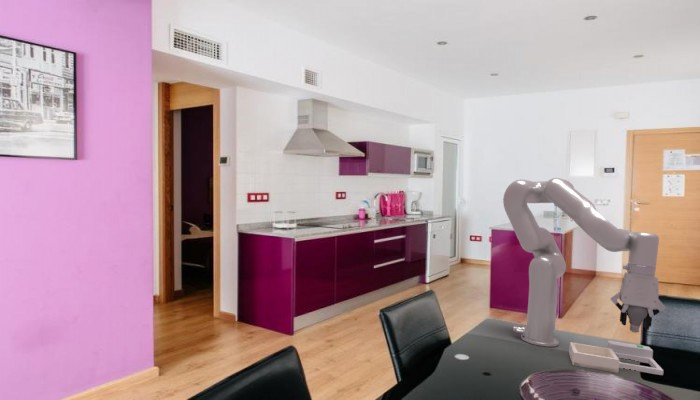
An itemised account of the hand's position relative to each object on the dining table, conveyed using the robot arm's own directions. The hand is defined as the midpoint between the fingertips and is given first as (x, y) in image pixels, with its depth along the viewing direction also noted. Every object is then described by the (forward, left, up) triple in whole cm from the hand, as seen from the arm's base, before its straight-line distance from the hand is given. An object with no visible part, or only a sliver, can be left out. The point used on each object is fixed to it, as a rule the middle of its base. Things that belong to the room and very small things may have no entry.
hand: (634, 325), depth 148 cm
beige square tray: (-12, -6, -12) cm, 19 cm away
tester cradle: (+1, +2, -12) cm, 13 cm away
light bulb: (0, 0, -2) cm, 2 cm away
